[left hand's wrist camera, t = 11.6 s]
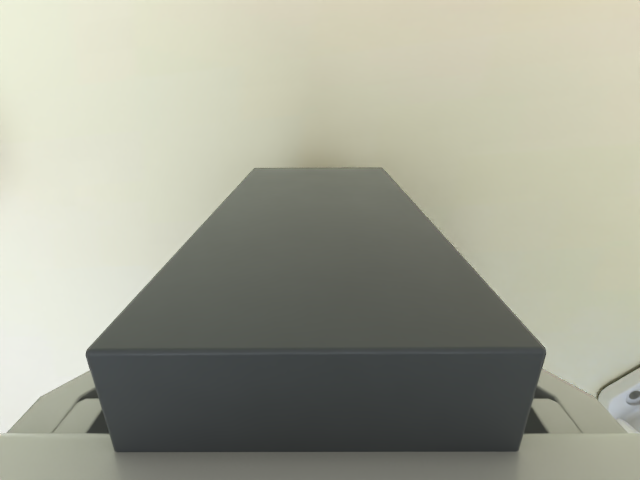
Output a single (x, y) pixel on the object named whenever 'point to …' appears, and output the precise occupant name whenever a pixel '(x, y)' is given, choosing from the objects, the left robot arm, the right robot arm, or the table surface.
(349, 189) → the box
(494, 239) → the table surface
